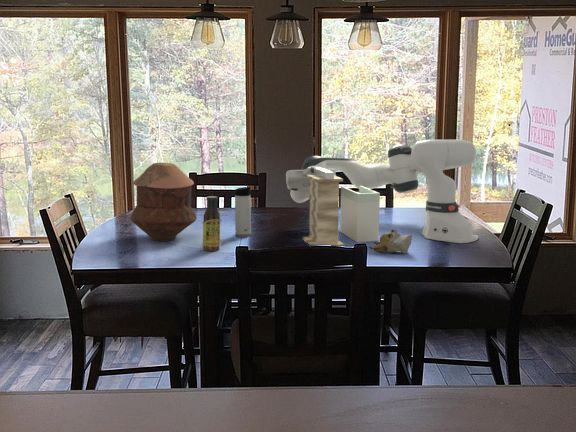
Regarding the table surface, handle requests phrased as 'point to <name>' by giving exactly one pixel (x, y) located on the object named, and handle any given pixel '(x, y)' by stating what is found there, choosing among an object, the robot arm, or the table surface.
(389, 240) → the ceramic sculpture
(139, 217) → the pottery vessel
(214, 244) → the sauce bottle
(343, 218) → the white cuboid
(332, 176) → the aluminium bar
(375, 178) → the robot arm
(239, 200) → the travel mug
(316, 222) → the birch pedestal
